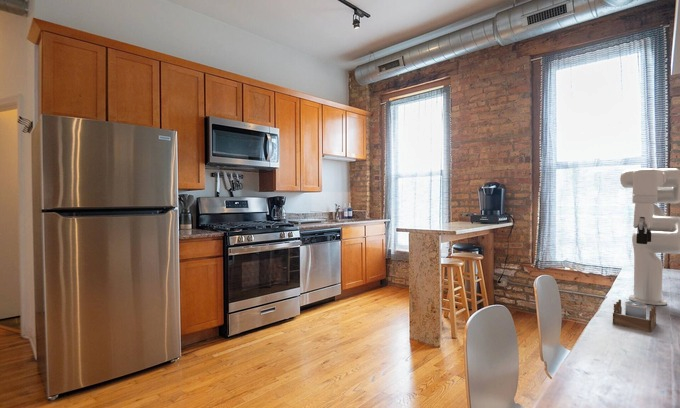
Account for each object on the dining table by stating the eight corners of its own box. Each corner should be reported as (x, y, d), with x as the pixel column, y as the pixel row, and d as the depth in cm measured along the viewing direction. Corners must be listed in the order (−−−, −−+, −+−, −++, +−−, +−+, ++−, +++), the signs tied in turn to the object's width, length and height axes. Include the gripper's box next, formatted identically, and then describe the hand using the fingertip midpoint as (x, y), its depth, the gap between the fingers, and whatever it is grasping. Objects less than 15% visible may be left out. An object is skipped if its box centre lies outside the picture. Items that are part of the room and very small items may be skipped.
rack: (619, 316, 138) (619, 298, 137) (656, 323, 130) (656, 304, 129) (612, 323, 130) (612, 305, 129) (651, 332, 122) (651, 312, 121)
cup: (626, 318, 135) (626, 300, 135) (647, 322, 131) (647, 304, 131) (623, 322, 131) (623, 303, 131) (644, 326, 127) (645, 307, 126)
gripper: (636, 199, 149) (635, 240, 150) (628, 200, 138) (627, 243, 138) (660, 199, 144) (659, 241, 144) (654, 200, 132) (653, 245, 132)
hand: (643, 242), depth 141 cm, fingers open, 9 cm apart
